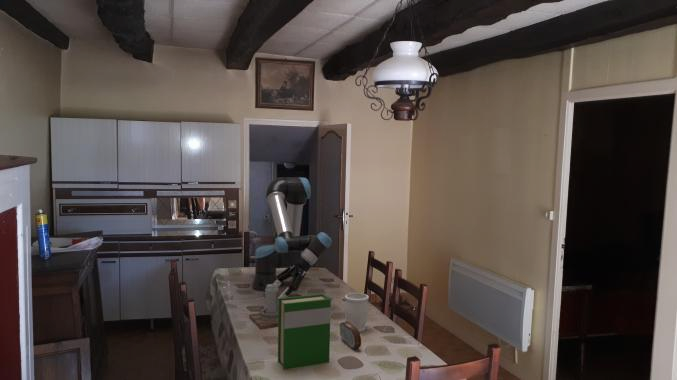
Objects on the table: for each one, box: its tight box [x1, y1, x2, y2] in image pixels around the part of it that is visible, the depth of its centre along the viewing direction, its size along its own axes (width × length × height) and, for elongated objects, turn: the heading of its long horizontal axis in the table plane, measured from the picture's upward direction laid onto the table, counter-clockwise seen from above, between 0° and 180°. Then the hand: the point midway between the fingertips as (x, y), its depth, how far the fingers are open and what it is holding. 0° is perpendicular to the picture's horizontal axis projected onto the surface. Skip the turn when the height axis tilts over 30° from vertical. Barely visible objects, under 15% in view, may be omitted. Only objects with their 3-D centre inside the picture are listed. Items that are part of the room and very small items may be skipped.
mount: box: [248, 308, 278, 330], centre depth 229 cm, size 16×16×4 cm
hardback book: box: [277, 293, 332, 371], centre depth 185 cm, size 18×7×24 cm, turn 114°
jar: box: [344, 292, 370, 333], centre depth 221 cm, size 11×10×15 cm
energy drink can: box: [264, 284, 280, 314], centre depth 228 cm, size 6×6×15 cm
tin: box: [339, 320, 362, 350], centre depth 203 cm, size 15×3×8 cm, turn 25°
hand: (275, 296), depth 228 cm, fingers open, 13 cm apart
